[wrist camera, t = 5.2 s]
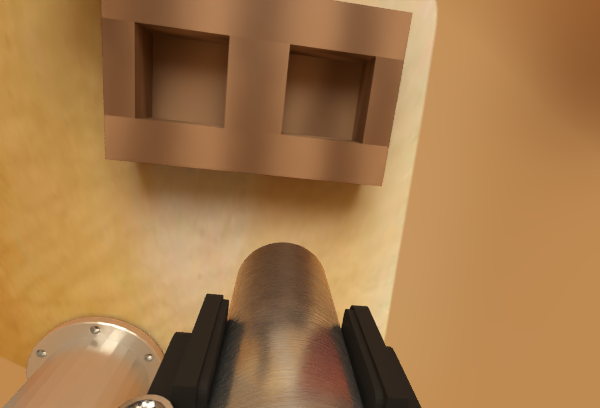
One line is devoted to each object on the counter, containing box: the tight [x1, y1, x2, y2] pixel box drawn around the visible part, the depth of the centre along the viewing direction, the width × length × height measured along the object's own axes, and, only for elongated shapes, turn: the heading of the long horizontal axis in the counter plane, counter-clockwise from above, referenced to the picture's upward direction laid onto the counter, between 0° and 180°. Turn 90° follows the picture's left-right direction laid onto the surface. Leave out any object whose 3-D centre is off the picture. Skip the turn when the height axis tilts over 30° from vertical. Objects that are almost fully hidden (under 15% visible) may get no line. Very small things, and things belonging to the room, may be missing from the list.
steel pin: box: [207, 243, 363, 408], centre depth 9 cm, size 4×4×12 cm
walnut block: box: [101, 0, 412, 186], centre depth 26 cm, size 20×12×5 cm, turn 83°
